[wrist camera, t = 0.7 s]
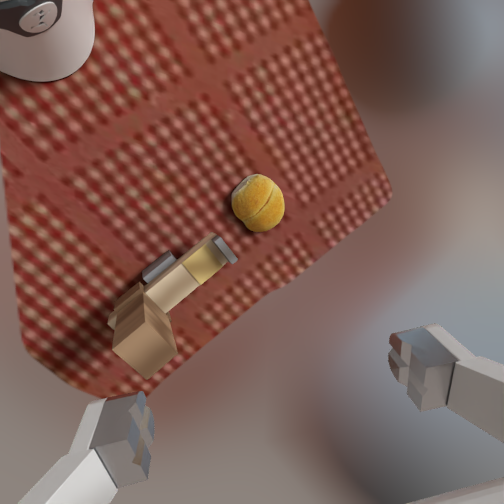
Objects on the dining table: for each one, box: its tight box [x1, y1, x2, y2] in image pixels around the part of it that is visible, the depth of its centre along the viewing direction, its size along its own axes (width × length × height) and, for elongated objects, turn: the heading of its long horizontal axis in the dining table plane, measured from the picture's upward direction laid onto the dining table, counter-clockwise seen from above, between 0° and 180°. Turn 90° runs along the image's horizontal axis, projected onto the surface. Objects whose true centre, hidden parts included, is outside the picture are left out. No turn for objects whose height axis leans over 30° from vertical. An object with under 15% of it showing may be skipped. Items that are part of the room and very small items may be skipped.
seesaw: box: [107, 232, 238, 330], centre depth 43 cm, size 6×18×9 cm, turn 126°
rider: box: [112, 282, 178, 380], centre depth 37 cm, size 6×4×13 cm, turn 36°
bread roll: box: [232, 174, 284, 232], centre depth 49 cm, size 8×9×4 cm
